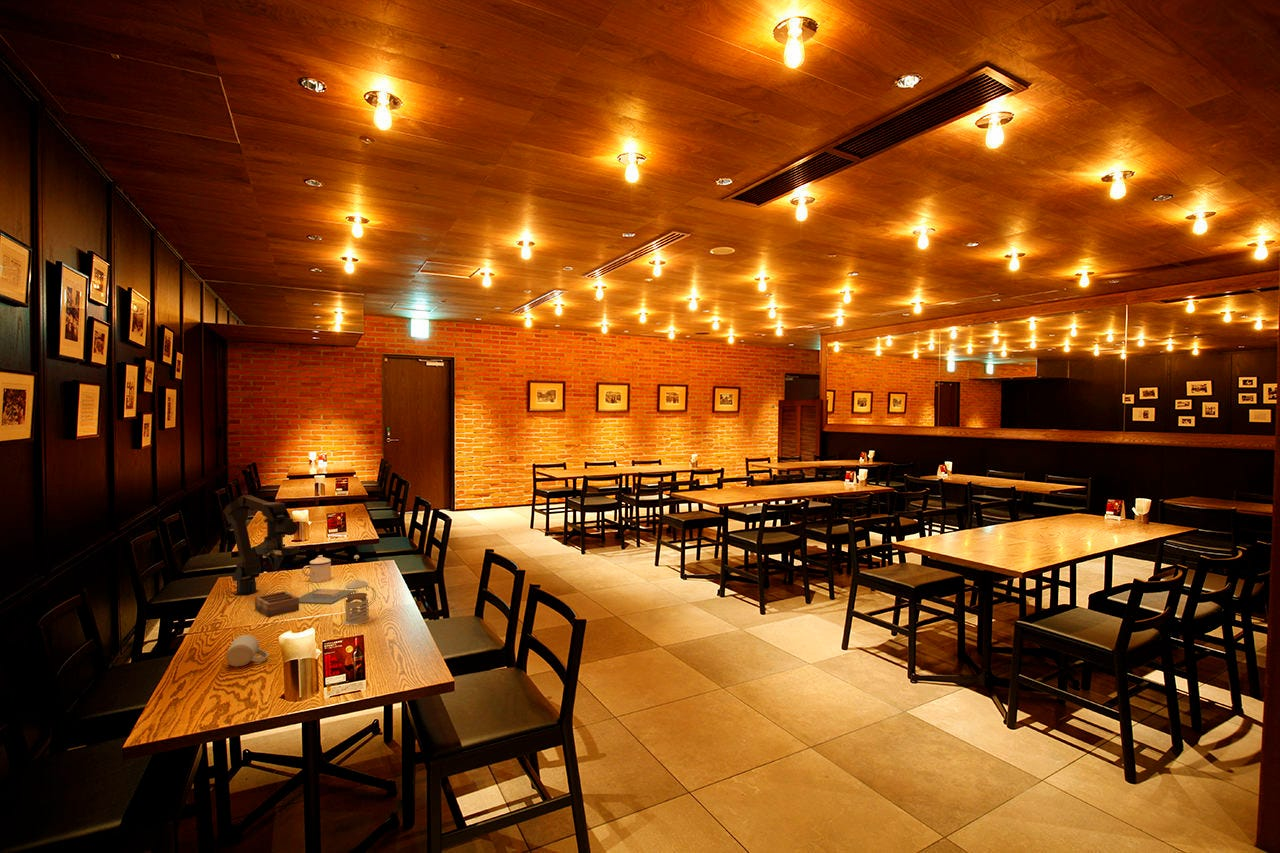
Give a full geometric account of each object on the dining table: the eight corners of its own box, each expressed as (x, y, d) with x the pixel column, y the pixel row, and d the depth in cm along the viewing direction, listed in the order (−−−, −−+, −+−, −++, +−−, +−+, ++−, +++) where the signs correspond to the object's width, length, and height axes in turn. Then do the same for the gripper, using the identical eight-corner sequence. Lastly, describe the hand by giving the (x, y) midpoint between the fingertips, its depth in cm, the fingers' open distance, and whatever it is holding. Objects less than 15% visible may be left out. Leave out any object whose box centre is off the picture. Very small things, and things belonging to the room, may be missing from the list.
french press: (338, 621, 227) (337, 555, 226) (369, 613, 235) (369, 550, 235) (348, 627, 220) (348, 559, 220) (380, 619, 229) (380, 554, 228)
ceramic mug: (224, 670, 183) (225, 644, 183) (231, 659, 191) (231, 635, 191) (265, 665, 188) (265, 640, 187) (270, 655, 195) (270, 631, 195)
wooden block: (312, 593, 253) (331, 594, 252) (322, 589, 259) (341, 590, 258) (312, 598, 253) (331, 599, 252) (322, 593, 259) (341, 595, 258)
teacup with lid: (332, 576, 289) (332, 552, 288) (330, 581, 280) (330, 556, 280) (303, 579, 284) (303, 554, 284) (301, 584, 276) (300, 559, 276)
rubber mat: (289, 603, 248) (289, 601, 248) (317, 590, 266) (317, 589, 266) (331, 604, 247) (331, 603, 247) (356, 591, 265) (355, 590, 265)
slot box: (255, 609, 240) (255, 597, 240) (285, 603, 248) (285, 591, 248) (267, 617, 231) (267, 604, 231) (298, 610, 239) (298, 597, 239)
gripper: (239, 536, 247) (240, 574, 248) (280, 538, 244) (280, 576, 245) (261, 531, 258) (261, 567, 259) (300, 532, 255) (300, 569, 256)
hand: (275, 570), depth 254 cm, fingers closed
